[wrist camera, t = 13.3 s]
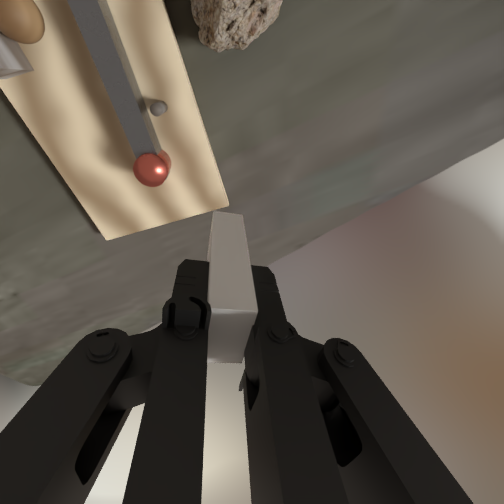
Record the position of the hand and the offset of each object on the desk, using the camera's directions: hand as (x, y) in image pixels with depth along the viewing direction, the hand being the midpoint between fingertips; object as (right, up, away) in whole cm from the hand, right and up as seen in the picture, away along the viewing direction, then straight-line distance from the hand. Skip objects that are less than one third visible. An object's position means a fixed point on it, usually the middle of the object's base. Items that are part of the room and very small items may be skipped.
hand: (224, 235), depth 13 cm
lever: (-12, +16, +15) cm, 25 cm away
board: (-15, +16, +17) cm, 28 cm away
